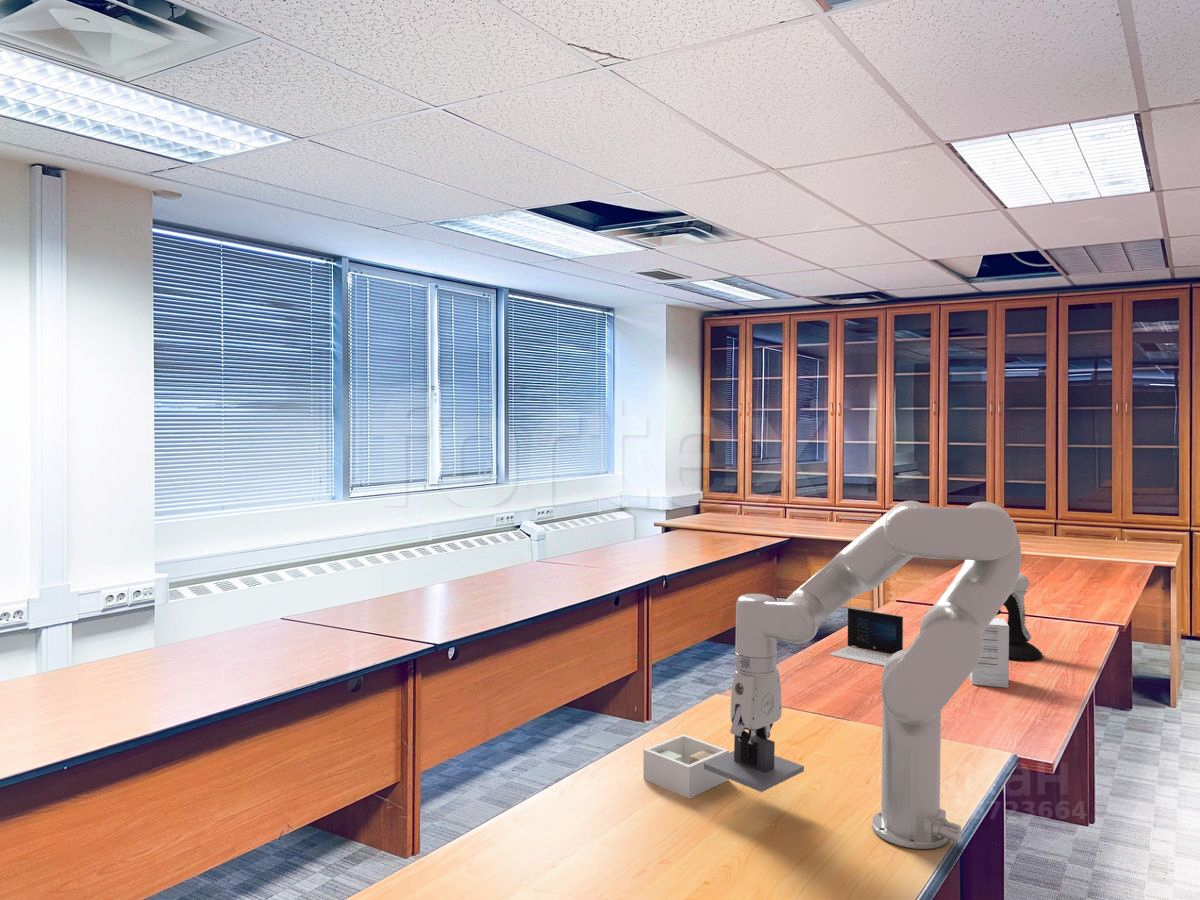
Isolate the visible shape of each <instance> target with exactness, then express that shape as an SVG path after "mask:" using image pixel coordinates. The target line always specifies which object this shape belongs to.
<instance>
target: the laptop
mask: <svg viewBox="0 0 1200 900" xmlns="http://www.w3.org/2000/svg"><path fill="white" fill-rule="evenodd" d="M900 650H904V616H903V615H896V614H888V613H883V612H877V611H871V610H865V609H860V608H852V607H847V646H845V647H843V648H840V649H838V650H836V651H835V650H834V651H832V652H831V653H829V654H828V655H829V656H833V657H837V658H841V659H846V660H852V661H856V662H861V663H867V664H870V665H871V664H872V665H876V666H880V667H884V666H885V664H886V662H887V660H888V659H889V658H890V657H891V656H892V655H893V654H894V653H896V652H898V651H900Z"/></svg>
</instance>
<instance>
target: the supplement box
mask: <svg viewBox="0 0 1200 900" xmlns="http://www.w3.org/2000/svg"><path fill="white" fill-rule="evenodd" d="M982 636H983V643H984V645H983V652H982V655H981V658H980V660H979V662H978V663H977V665H976V667H975V668H974V669H973V671H972V672H971V673H970V675H969V676H968V677H969V680H970V683H971V685H973V686H985V687H997V688H1006V689H1009V677H1010V676H1009V674H1010V673H1009V662H1010V660H1009V626H1008V621H1006V619H1005V618H1000V617H994V618H993V620H992V621H991V622H990V624H989V625H988V627H987V628H986V629H985V631H984V633H983V635H982Z"/></svg>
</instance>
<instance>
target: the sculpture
mask: <svg viewBox="0 0 1200 900" xmlns="http://www.w3.org/2000/svg"><path fill="white" fill-rule="evenodd" d="M1029 587H1030V580H1029V578H1028V576H1026V575H1025V574H1023V573H1021V572H1020V573H1019V577H1018V580H1017V583H1016V585H1015V587H1014V589H1013V591H1012V592H1011V594H1010V596H1009V597H1008V599H1007V600H1006V601H1005V603H1004V604H1003V606H1004V607H1005V609H1006V610H1007V615H1008V616H1007V624H1008V626H1009V661H1015V662H1036V661H1039V660H1042V659H1043V653H1042V651H1041V650H1039V648H1037V647H1036V646H1035V645H1033V644H1031V643H1030V642H1029V641H1030V640H1031V639H1032V636H1031V634H1030V633H1029V631H1028V629H1027V627H1026V622H1025V621H1026V617H1027V616H1026V615H1027V614H1026V613H1025V612H1026V607H1025V596H1026V593H1027V592H1028V591H1027V589H1029ZM1001 613H1002V611H1001V609H1000V610H999V611H998V613H997V614H996V616H998V615H1001Z"/></svg>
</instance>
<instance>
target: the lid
mask: <svg viewBox="0 0 1200 900" xmlns="http://www.w3.org/2000/svg"><path fill="white" fill-rule="evenodd" d="M746 732H747V733H748V734H749V731H746ZM733 741H734V743H733V745H734V748H733V751H731V752H729V753H728V754H726V755H723V756H721V757H718V758H716V759H714V760H711V761H709V762H707V763H704V769H705V770H708V771H710V772H713V773H715V774H718V775H720V776H723V777H725V778H728V779H729V780H730V781H733V782H736V783H738V784H740V785H742V786H745V787H747V788H750V789H753V790H755V791H756V792H757V791H758V792H760V793H763V792H765V791H767V790H769V789H772V787H776V786H777V785H779V784H781V783H783V782H785V781H787V780H789V779H791V778H793V777H795V776H797V775H799V774H801V773H804V772H805V766H804V765H802V764H799V763H796V762H794V761H791V760H789V759H785V758H782V757H780V756H778V755H775V751H776V750H775V747H776V745H775V744H776V742H775V741H774V740H771V739H769V738H767V739H765V738H763V737H760V736H757V735H756V734H755V741H754V744H757V745H756V765H755V766H751V765H749V764H746V763H743V762H741V760H740V750H741V741H739V739H738V737H737V735H734V740H733Z"/></svg>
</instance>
